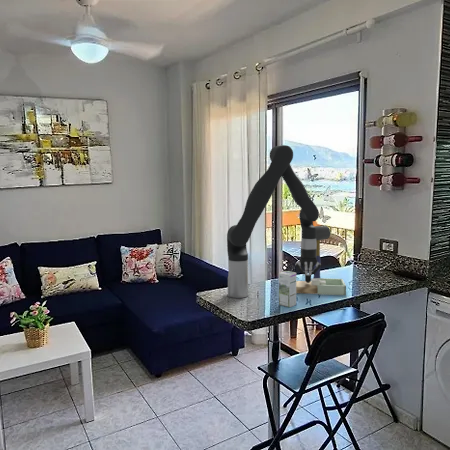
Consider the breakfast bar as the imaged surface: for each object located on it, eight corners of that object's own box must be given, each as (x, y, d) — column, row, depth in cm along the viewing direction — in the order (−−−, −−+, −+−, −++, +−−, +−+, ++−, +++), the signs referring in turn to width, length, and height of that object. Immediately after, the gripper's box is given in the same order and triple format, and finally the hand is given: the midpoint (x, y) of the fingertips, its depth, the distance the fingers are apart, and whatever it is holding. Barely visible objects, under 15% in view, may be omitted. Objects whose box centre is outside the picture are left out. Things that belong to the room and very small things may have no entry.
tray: (317, 294, 200) (317, 285, 200) (315, 286, 214) (315, 278, 213) (345, 295, 198) (346, 286, 198) (342, 287, 212) (342, 278, 211)
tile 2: (320, 282, 204) (325, 282, 204) (319, 280, 208) (325, 280, 208) (320, 290, 205) (325, 290, 204) (319, 288, 209) (325, 288, 208)
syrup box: (296, 304, 185) (297, 272, 183) (289, 307, 181) (289, 274, 179) (285, 302, 189) (286, 270, 187) (278, 305, 184) (278, 272, 183)
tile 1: (311, 285, 205) (311, 280, 205) (311, 283, 209) (311, 278, 209) (319, 285, 204) (320, 280, 204) (319, 283, 208) (319, 278, 208)
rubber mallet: (311, 285, 215) (312, 227, 212) (302, 282, 222) (303, 226, 219) (330, 282, 221) (331, 225, 218) (321, 279, 228) (322, 224, 224)
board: (291, 293, 203) (291, 286, 203) (291, 286, 215) (291, 280, 214) (317, 293, 201) (317, 287, 201) (315, 287, 213) (316, 281, 213)
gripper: (294, 248, 203) (294, 283, 205) (323, 249, 201) (322, 284, 203) (294, 246, 210) (294, 280, 212) (321, 246, 208) (321, 280, 210)
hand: (308, 282), depth 207 cm, fingers closed
